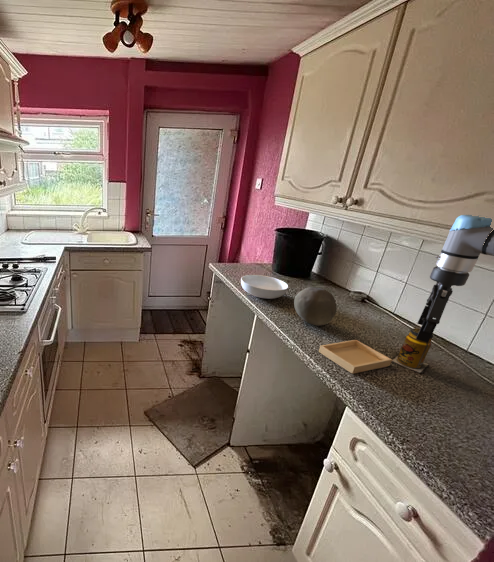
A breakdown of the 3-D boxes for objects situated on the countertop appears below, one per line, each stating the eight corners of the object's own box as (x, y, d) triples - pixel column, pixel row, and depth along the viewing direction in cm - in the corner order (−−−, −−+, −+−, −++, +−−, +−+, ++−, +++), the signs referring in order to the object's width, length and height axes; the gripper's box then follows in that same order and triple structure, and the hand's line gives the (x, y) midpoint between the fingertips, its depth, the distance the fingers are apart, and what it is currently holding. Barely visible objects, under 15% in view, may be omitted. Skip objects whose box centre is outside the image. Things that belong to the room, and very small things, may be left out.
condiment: (391, 361, 103) (404, 329, 98) (400, 353, 107) (413, 323, 103) (419, 373, 97) (435, 340, 93) (428, 364, 102) (443, 333, 97)
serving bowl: (294, 304, 142) (297, 290, 140) (248, 303, 142) (251, 289, 139) (272, 287, 162) (275, 274, 159) (232, 286, 161) (234, 273, 158)
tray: (353, 345, 111) (355, 339, 110) (389, 365, 100) (392, 359, 99) (318, 351, 107) (320, 345, 106) (352, 373, 96) (354, 367, 95)
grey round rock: (319, 316, 132) (329, 283, 126) (337, 333, 119) (349, 297, 113) (284, 313, 133) (293, 281, 127) (299, 330, 120) (309, 295, 114)
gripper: (434, 257, 101) (408, 315, 109) (434, 275, 84) (404, 342, 92) (467, 263, 96) (438, 323, 104) (474, 283, 79) (439, 353, 87)
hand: (422, 332), depth 98 cm, fingers open, 13 cm apart
